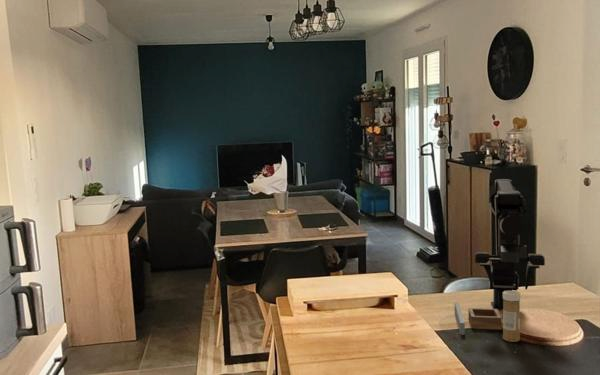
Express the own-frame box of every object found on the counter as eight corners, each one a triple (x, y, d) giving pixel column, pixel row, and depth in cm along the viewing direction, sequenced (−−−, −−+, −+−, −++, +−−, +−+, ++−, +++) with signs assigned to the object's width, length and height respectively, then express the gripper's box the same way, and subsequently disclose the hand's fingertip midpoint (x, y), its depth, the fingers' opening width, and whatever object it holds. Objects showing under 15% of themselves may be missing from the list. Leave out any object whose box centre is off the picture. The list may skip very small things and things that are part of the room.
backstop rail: (454, 312, 176) (454, 301, 176) (458, 312, 176) (458, 302, 176) (460, 334, 157) (460, 322, 156) (464, 334, 156) (464, 323, 156)
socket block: (468, 318, 170) (468, 307, 169) (496, 320, 168) (497, 308, 168) (471, 328, 162) (471, 316, 161) (501, 329, 160) (501, 317, 160)
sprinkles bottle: (523, 340, 151) (523, 292, 150) (513, 343, 149) (513, 295, 148) (509, 335, 155) (509, 288, 154) (498, 338, 153) (499, 291, 152)
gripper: (474, 235, 155) (474, 290, 155) (546, 237, 149) (546, 294, 149) (475, 233, 166) (475, 285, 166) (542, 235, 160) (542, 288, 160)
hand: (509, 288), depth 160 cm, fingers open, 9 cm apart
